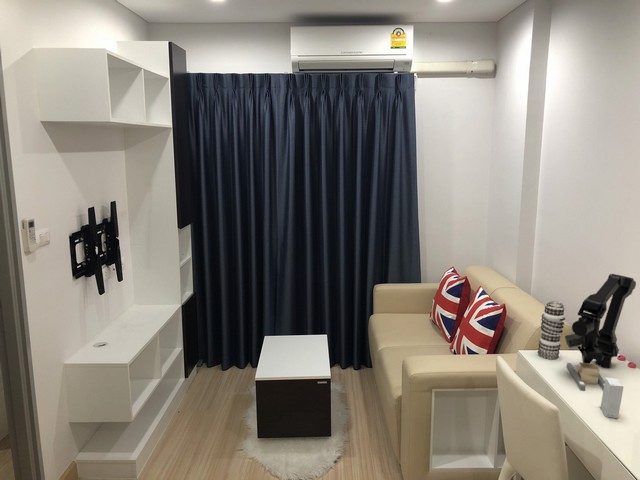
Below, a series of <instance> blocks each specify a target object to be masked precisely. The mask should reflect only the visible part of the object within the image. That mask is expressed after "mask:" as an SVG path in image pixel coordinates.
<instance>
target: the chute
mask: <svg viewBox="0 0 640 480" xmlns="http://www.w3.org/2000/svg"><path fill="white" fill-rule="evenodd" d="M566 368H567V370H568V372H569V373H570V375H571V377H572V379H573V380H574V382H575V384H576V385H577V387H578V389H579V390H580V391H582V392H583V391H584V392H585V391H586V383H584V382H583V381H582V380H581V378H580V377H579V375H578V371H577V370H576V368H575V367H574V366H573V364H572V363H571V362H566ZM604 383H605V379H604V378H603V377H602V376H601V374H600V373H599V378H598V384H597V385H599V387H600V388H601V390H602V391H603V389H604Z"/></svg>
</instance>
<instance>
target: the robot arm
mask: <svg viewBox="0 0 640 480" xmlns="http://www.w3.org/2000/svg"><path fill="white" fill-rule="evenodd" d="M636 285H637V282H636V281H635V279H634V277H629V276H624V275H620V274H615V273H610V274H609V275H608V277H607V279H606V281H605V282H604V283H603V284H602V286H601V287H600V288H599V289H598V290H597V292H596V293H593V294H589V295H588V296H587V297H586V298H585V299H584V300H583V301H582V304H581V305H580V308H579V310H578V312H577V316H579V317H578V320H576V321H574V322H573V323H572V325H571V330H572V332H573V333H571V334H568V335H565V336H564V338H565V342H566V345H567V346H568V348H574V347H577V349H578V350H579V352H580V353H581V360H582V361H581V362H582V363H590V364H592V361H594V364H596V365H597V366H598V367H600V368H604V369H610V368H611V365H612V360H613V358H616V357H617V358H618V354H619V351H620V348H619V346H618V344H617V341H618V338H617V335H616V329H617V326H618V322H619V320H620V317H621V312H622V310H623V307H624V303H625V300H626V299H627V298H628V297H630V296H631V295H632V294H633V291H634V290H635V288H636ZM609 300H610V301H609ZM608 302H610V303H609V306H607V303H608ZM605 314H606V315H605ZM604 316H605V319H604V321H603V325H602V327H601V320H602V319H603V318H604ZM600 327H601V329H600Z"/></svg>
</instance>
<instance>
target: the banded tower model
mask: <svg viewBox="0 0 640 480" xmlns="http://www.w3.org/2000/svg"><path fill="white" fill-rule="evenodd" d="M565 309H566V306H564V304H563V303H562V302H560V301H554V300H550V301H547V302H546V303H545V304H544V310H543V313H542V314H541V322H540V325H541V326H540V332H541V336H540V338H539V340H538V341H539V343H538V348H537V350H538V351H537V356H539V357H541V358H543V359H546V360H557V359H559V357H560V350H561V336H562V334H563V330H562V329H564V325H565V320H566V318H565V314H564V313H565Z"/></svg>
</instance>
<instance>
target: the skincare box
mask: <svg viewBox="0 0 640 480" xmlns="http://www.w3.org/2000/svg"><path fill="white" fill-rule="evenodd" d="M604 381H605V383H604V389H603V390H602V396H601V401H600V410H601V412H602V413H603V415H604V416H605V418H606V417H607V418H614V419H619V415H620V409H621V403H622V398H623V392H624V387H625V386H624V385H623V384H622V382H620V380H619V379H618V378H613V377H605V379H604Z"/></svg>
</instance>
